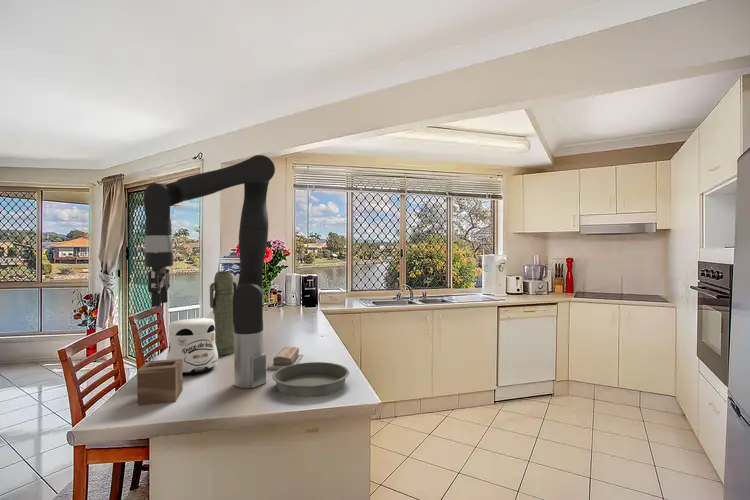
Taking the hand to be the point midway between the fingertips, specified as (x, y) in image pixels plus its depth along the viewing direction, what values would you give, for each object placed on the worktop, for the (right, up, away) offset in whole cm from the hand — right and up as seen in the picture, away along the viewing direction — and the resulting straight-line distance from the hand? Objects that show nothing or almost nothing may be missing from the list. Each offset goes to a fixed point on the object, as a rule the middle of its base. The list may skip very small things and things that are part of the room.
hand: (159, 304), depth 123 cm
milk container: (-2, -28, +27) cm, 39 cm away
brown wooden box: (0, -28, 0) cm, 28 cm away
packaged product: (+30, -28, +36) cm, 55 cm away
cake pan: (+44, -28, +9) cm, 53 cm away
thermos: (0, -28, +52) cm, 59 cm away
